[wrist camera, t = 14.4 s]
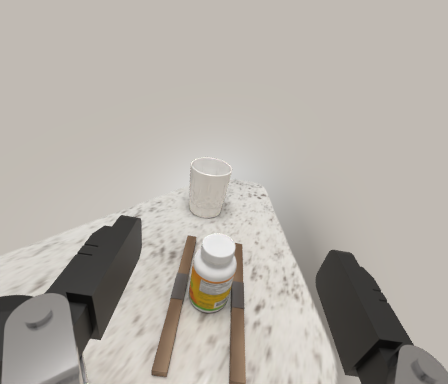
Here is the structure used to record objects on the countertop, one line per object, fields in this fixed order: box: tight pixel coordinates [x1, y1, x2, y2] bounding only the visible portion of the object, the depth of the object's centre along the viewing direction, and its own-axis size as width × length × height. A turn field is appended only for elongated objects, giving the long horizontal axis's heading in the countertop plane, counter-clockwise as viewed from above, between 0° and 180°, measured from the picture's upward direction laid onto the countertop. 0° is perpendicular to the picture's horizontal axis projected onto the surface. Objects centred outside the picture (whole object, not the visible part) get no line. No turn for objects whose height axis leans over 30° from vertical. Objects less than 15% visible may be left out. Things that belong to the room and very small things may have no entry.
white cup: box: [189, 157, 232, 218], centre depth 47 cm, size 8×8×10 cm
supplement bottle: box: [189, 233, 237, 313], centre depth 30 cm, size 5×5×10 cm
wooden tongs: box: [152, 236, 246, 384], centre depth 33 cm, size 10×20×1 cm, turn 177°
